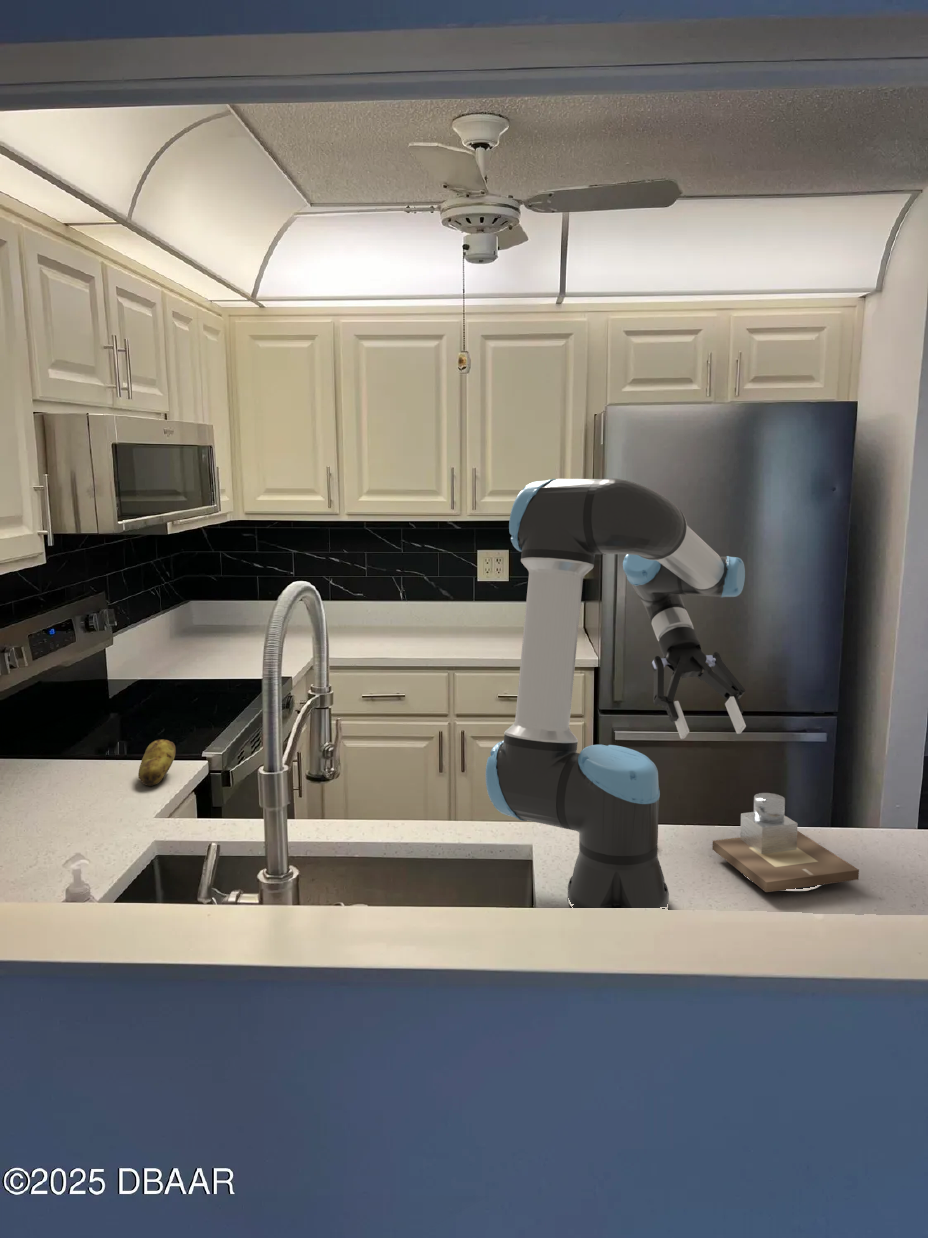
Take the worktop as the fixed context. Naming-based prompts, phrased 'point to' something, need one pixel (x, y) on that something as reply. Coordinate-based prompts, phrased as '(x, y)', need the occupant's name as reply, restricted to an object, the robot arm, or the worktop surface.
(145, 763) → the potato
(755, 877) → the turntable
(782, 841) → the metal block with knob
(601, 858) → the robot arm
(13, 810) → the worktop surface
